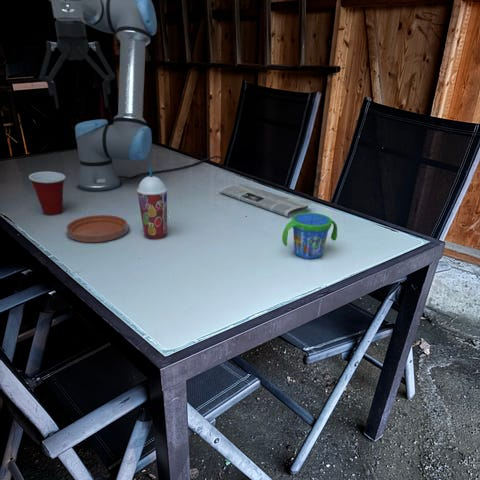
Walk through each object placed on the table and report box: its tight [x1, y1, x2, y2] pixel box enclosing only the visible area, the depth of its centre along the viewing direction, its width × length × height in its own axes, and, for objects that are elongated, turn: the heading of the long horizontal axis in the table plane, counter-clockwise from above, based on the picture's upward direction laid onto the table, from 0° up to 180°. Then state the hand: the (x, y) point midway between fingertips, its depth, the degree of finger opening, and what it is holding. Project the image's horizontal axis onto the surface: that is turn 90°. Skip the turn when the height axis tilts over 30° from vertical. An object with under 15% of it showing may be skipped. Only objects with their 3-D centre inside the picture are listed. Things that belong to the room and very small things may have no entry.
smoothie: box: [136, 165, 168, 240], centre depth 135 cm, size 8×8×20 cm
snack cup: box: [281, 212, 338, 260], centre depth 128 cm, size 16×10×10 cm
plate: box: [66, 214, 129, 243], centre depth 141 cm, size 17×17×2 cm
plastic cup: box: [28, 171, 66, 216], centre depth 152 cm, size 11×11×12 cm
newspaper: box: [219, 183, 313, 218], centre depth 168 cm, size 35×12×4 cm, turn 43°
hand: (82, 107), depth 137 cm, fingers open, 13 cm apart
